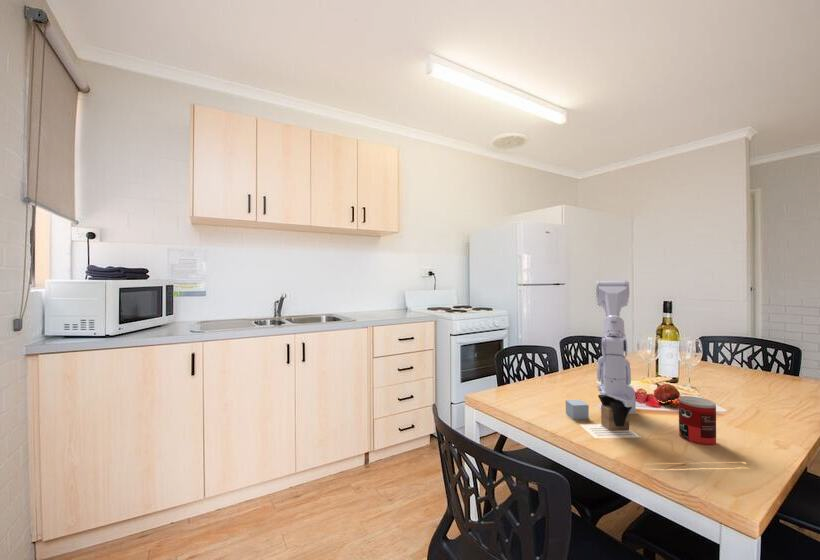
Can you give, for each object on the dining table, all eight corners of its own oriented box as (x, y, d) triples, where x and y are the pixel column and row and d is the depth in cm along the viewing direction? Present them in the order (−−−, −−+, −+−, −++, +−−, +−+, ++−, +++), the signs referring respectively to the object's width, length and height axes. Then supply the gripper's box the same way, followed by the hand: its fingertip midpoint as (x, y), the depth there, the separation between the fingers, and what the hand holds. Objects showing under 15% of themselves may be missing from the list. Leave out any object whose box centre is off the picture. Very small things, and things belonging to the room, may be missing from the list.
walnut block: (620, 424, 107) (620, 404, 107) (629, 430, 103) (629, 409, 103) (601, 424, 107) (601, 405, 106) (608, 430, 103) (608, 410, 102)
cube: (580, 414, 116) (580, 399, 116) (588, 420, 111) (588, 405, 111) (565, 414, 116) (565, 399, 116) (573, 421, 111) (572, 405, 111)
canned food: (679, 431, 102) (679, 394, 102) (715, 439, 97) (715, 399, 97) (678, 441, 96) (677, 401, 96) (716, 450, 91) (716, 407, 91)
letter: (621, 424, 107) (621, 423, 107) (641, 437, 98) (641, 437, 98) (579, 425, 107) (579, 424, 107) (595, 438, 98) (595, 437, 98)
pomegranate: (683, 411, 122) (664, 387, 130) (692, 399, 118) (671, 375, 126) (662, 415, 122) (644, 390, 130) (671, 403, 118) (651, 378, 125)
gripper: (588, 370, 112) (588, 413, 112) (615, 384, 97) (616, 433, 97) (610, 370, 112) (610, 412, 112) (640, 384, 97) (641, 433, 97)
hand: (615, 422), depth 105 cm, fingers closed on walnut block, 4 cm apart
